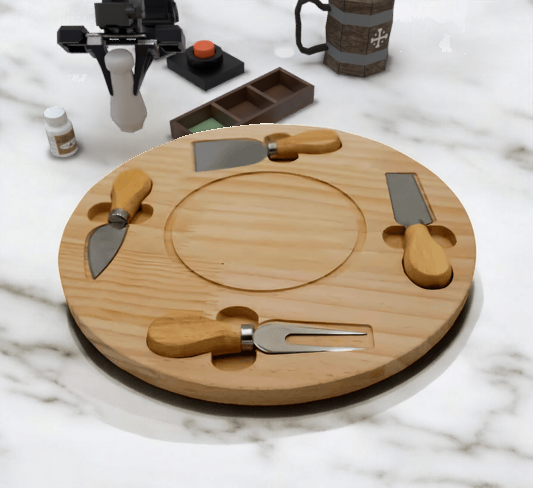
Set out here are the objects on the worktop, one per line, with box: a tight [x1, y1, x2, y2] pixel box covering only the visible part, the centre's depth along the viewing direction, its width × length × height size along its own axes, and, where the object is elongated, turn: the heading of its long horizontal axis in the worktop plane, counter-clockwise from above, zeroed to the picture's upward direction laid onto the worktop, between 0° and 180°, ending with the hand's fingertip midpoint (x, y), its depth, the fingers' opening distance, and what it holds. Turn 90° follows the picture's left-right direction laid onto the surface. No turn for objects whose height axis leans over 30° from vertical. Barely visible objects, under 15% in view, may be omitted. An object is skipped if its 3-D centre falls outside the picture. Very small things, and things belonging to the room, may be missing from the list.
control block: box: [165, 43, 245, 92], centre depth 127 cm, size 12×10×4 cm
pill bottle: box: [43, 105, 79, 158], centre depth 108 cm, size 4×4×8 cm
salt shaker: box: [105, 47, 148, 134], centre depth 101 cm, size 6×6×13 cm
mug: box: [294, 0, 396, 79], centre depth 126 cm, size 20×14×15 cm
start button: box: [192, 39, 215, 58], centre depth 126 cm, size 4×4×2 cm
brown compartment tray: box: [169, 66, 316, 140], centre depth 116 cm, size 9×26×4 cm, turn 133°
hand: (123, 95), depth 100 cm, fingers closed on salt shaker, 3 cm apart
